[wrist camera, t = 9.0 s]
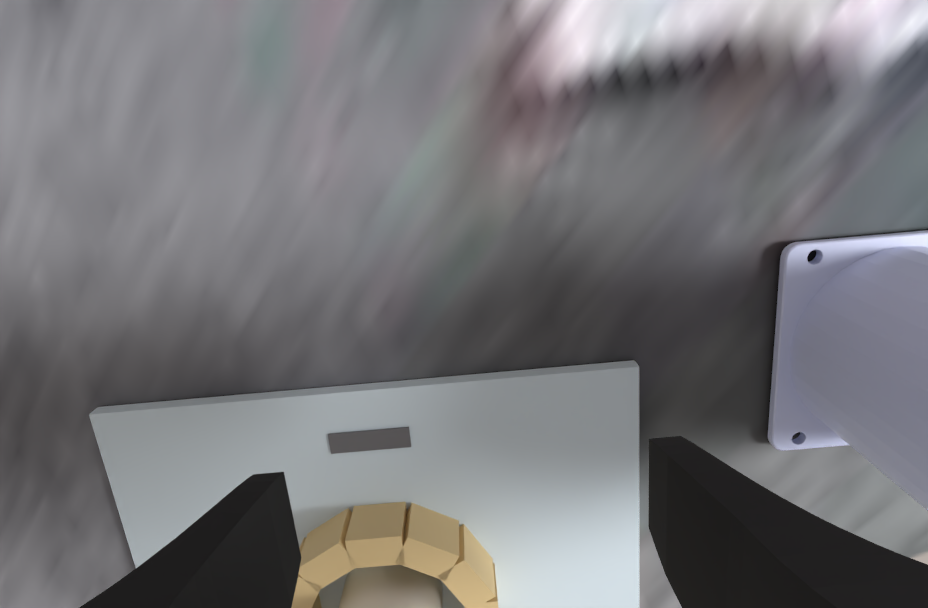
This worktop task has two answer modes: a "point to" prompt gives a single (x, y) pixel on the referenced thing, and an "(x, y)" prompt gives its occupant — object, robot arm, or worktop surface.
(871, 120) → the worktop surface
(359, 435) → the plate
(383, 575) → the tube
